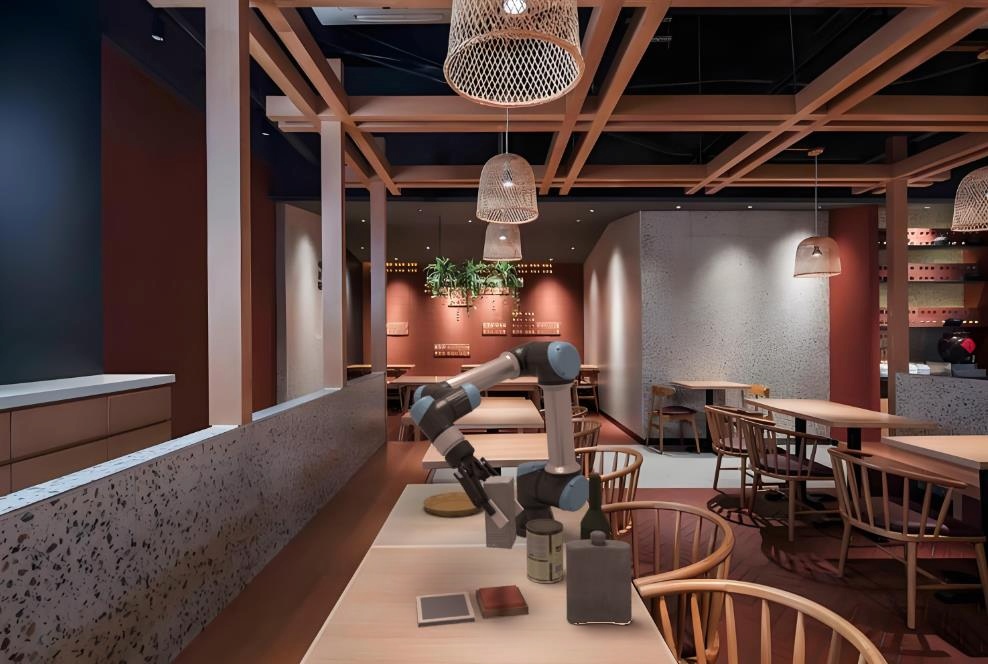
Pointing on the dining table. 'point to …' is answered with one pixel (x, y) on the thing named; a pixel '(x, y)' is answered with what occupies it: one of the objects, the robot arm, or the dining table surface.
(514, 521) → the skincare box
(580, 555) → the flask
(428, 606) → the marked board
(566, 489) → the robot arm
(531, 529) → the coffee can
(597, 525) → the wine bottle
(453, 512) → the plant saucer
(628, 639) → the dining table surface
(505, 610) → the ink pad
